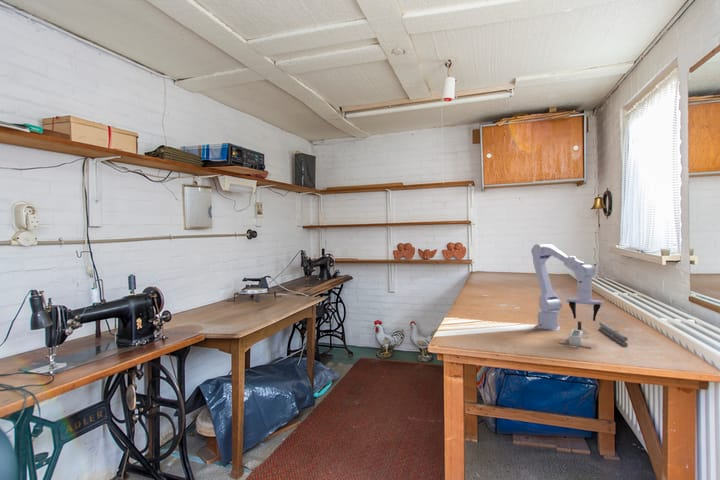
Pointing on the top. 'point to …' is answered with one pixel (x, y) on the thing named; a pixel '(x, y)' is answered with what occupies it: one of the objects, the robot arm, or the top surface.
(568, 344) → the rubber mat
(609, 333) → the metal rod assembly
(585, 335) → the post stand
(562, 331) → the top surface
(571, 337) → the steel link
